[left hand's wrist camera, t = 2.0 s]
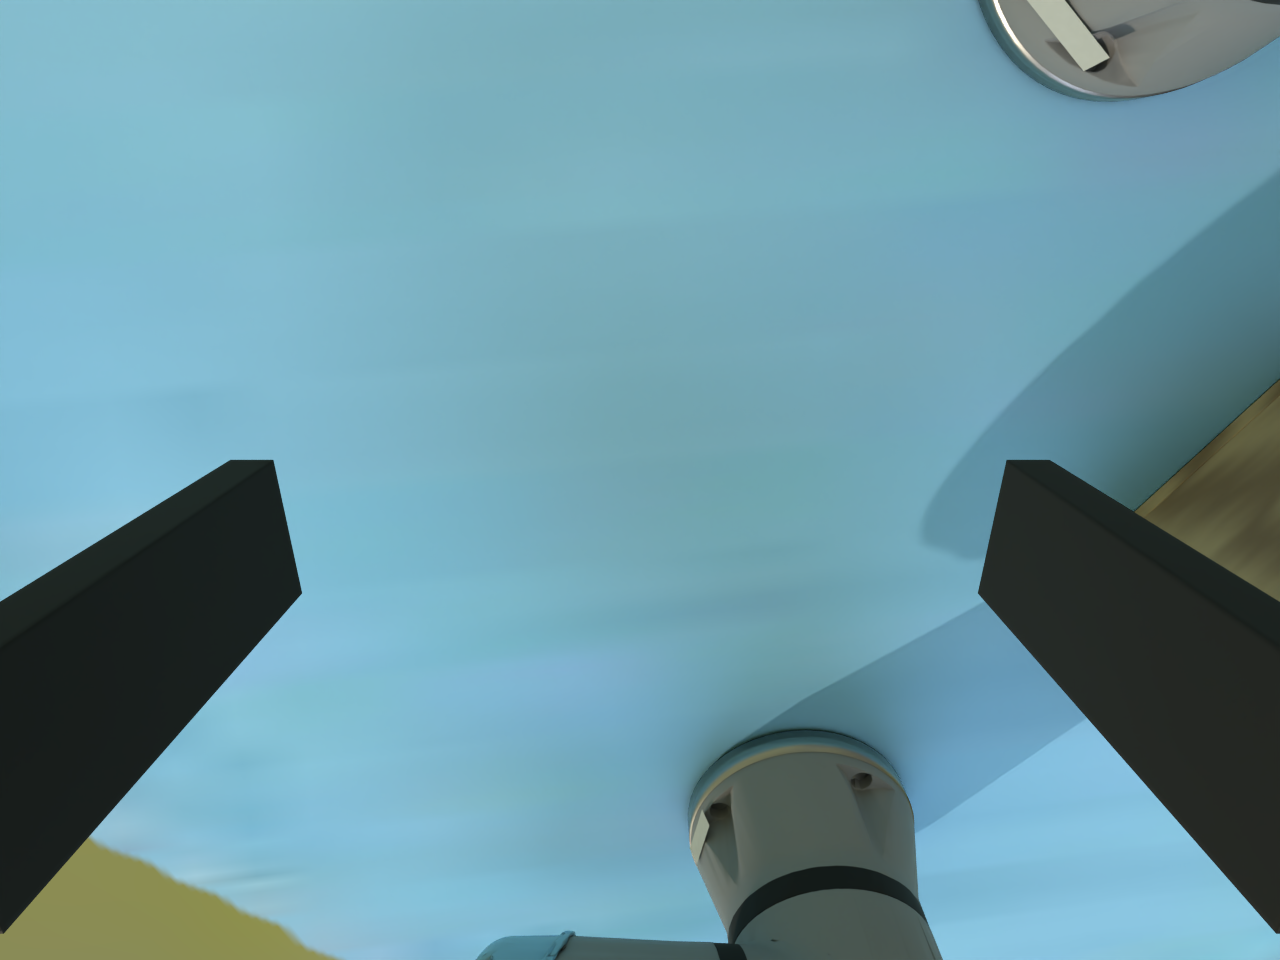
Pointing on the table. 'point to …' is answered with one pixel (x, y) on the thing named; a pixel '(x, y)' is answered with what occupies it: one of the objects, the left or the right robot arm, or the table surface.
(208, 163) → the table surface
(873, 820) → the left robot arm
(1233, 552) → the tan cardboard box
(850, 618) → the table surface
